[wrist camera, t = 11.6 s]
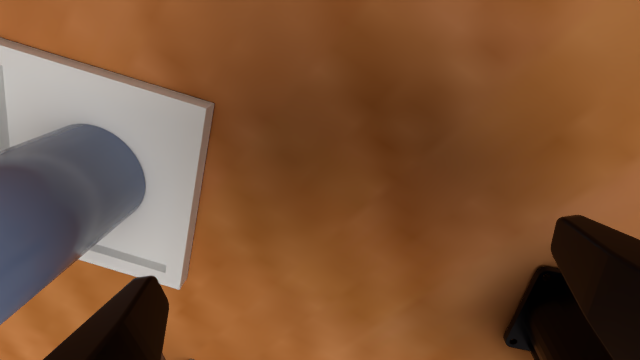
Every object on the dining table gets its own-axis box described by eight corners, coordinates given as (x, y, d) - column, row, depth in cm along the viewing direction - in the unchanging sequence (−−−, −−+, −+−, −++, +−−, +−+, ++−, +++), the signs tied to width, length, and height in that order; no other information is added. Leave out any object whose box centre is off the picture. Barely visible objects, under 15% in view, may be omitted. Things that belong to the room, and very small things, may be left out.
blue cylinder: (163, 206, 24) (-38, 395, 12) (82, 228, 26) (-165, 414, 14) (110, 110, 22) (-198, 227, 10) (25, 140, 23) (-328, 273, 12)
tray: (214, 103, 21) (206, 108, 20) (186, 278, 27) (179, 289, 26) (-11, 34, 21) (-32, 35, 20) (8, 224, 27) (-7, 233, 26)
